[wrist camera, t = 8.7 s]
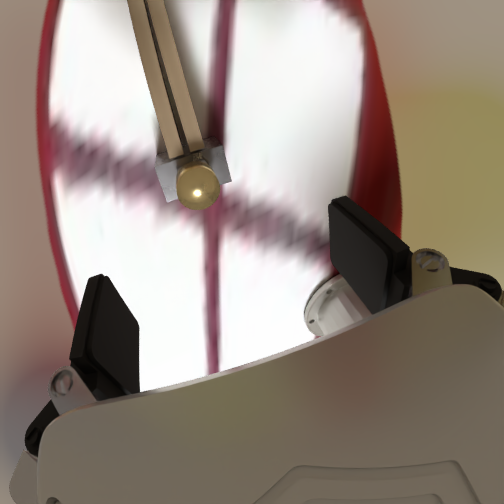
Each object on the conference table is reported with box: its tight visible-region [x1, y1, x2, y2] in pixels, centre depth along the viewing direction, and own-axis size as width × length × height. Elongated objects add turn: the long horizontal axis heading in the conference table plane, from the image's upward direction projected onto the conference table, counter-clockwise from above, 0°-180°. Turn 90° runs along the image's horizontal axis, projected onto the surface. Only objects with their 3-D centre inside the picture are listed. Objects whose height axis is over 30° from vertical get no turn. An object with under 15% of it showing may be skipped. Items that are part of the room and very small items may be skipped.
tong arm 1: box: [147, 0, 205, 152], centre depth 15 cm, size 1×16×5 cm, turn 12°
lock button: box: [176, 161, 220, 210], centre depth 18 cm, size 3×3×2 cm
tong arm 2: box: [127, 0, 184, 159], centre depth 15 cm, size 1×16×5 cm, turn 11°
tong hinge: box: [155, 136, 232, 202], centre depth 22 cm, size 5×3×4 cm, turn 101°
